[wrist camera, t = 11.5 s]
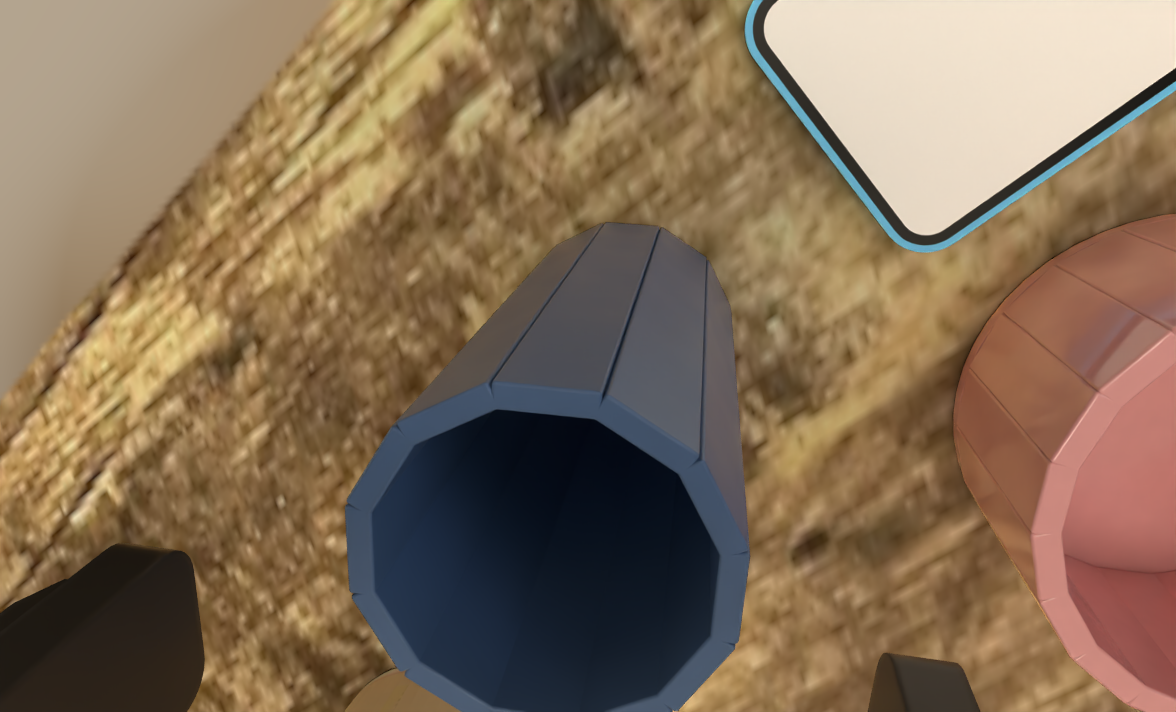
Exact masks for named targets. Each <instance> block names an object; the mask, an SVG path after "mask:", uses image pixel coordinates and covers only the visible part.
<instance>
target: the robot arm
mask: <svg viewBox="0 0 1176 712" xmlns="http://www.w3.org/2000/svg"><path fill="white" fill-rule="evenodd" d="M204 661H205V658H204V648H203V640H202V632H201V624H200V616H199V608H198V600H197V592H196V584H195V576H194V569H193V564H192V562H191V559H190V558H189V556H188V555H187V554H186V553H185V552H182V551H178V550H171V549H164V548H157V547H150V546H143V545H136V544H129V543H118V544H115V545H113V546H111V547H109V548H108V549H106V550H105V551H104V552H102V553H101V554H100V555H99V556H97V557H96V558H95V559H93V560H92V561H91V562H90V563H88V564H87V565H86V566H84V567H83V568H82V569H81V570H79V571H78V572H77V573H75V574H74V575H73V576H72V577H70V578H69V579H64V580H62V581H60V582H57V583H55V584H53V585H51V586H49V587H47V588H45V589H43V590H40V591H38V592H36V593H34V594H32V595H30V596H28V597H26V598H24V599H21V600H19V601H17V602H15V603H13V604H12V605H10V606H9V607H8V608H6V609H5V610H4V611H2V612H1V613H0V712H187V710H188V709H189V707H190V706H191V704H192V703H193V701H194V699H195V697H196V694H197V692H198V690H199V687H200V684H201V680H202V676H203V671H204ZM868 712H980V710H979V707H978V705H977V702H976V700H975V697H974V695H973V692H972V690H971V687H970V685H969V682H968V680H967V677H966V675H965V673H964V671H963V669H962V667H961V666H960V665H959V664H958V663H954V662H947V661H940V660H933V659H926V658H919V657H912V656H905V655H898V654H891V653H884V654H883V655H882V656H881V658H880V660H879V662H878V666H877V670H876V674H875V679H874V684H873V688H872V693H871V698H870V703H869V708H868Z"/></svg>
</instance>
